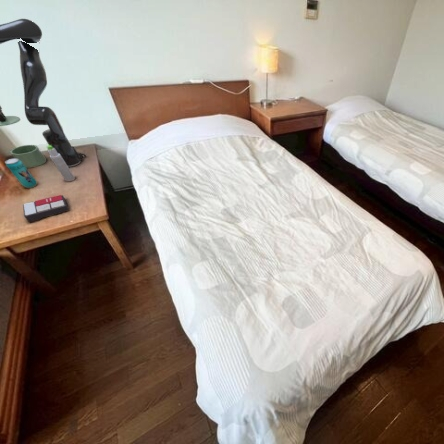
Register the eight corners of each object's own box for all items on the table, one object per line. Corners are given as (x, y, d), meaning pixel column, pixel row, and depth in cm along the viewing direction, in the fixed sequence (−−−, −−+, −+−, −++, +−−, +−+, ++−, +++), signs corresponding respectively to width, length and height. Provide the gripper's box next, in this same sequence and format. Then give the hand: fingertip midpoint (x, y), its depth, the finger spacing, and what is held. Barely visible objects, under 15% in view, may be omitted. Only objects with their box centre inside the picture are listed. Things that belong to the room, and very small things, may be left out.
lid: (-10, 119, 132) (-18, 108, 128) (22, 116, 138) (15, 105, 134) (-14, 128, 125) (-23, 117, 121) (19, 125, 130) (12, 114, 126)
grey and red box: (65, 204, 119) (23, 215, 111) (69, 211, 122) (28, 222, 113) (61, 193, 125) (21, 203, 116) (66, 200, 127) (26, 210, 119)
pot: (21, 160, 149) (11, 147, 144) (46, 156, 155) (38, 143, 149) (19, 169, 142) (8, 156, 137) (45, 165, 148) (36, 152, 142)
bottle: (76, 176, 142) (56, 144, 128) (73, 181, 138) (52, 148, 125) (67, 177, 141) (46, 144, 127) (64, 181, 138) (41, 148, 124)
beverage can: (30, 189, 130) (10, 164, 120) (21, 187, 131) (0, 162, 121) (41, 183, 135) (22, 159, 124) (32, 181, 135) (12, 157, 125)
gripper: (-15, 87, 116) (11, 124, 128) (-10, 79, 124) (14, 114, 136) (-38, 89, 113) (-9, 126, 125) (-31, 80, 121) (-4, 116, 133)
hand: (3, 120), depth 130 cm, fingers closed on lid, 2 cm apart
